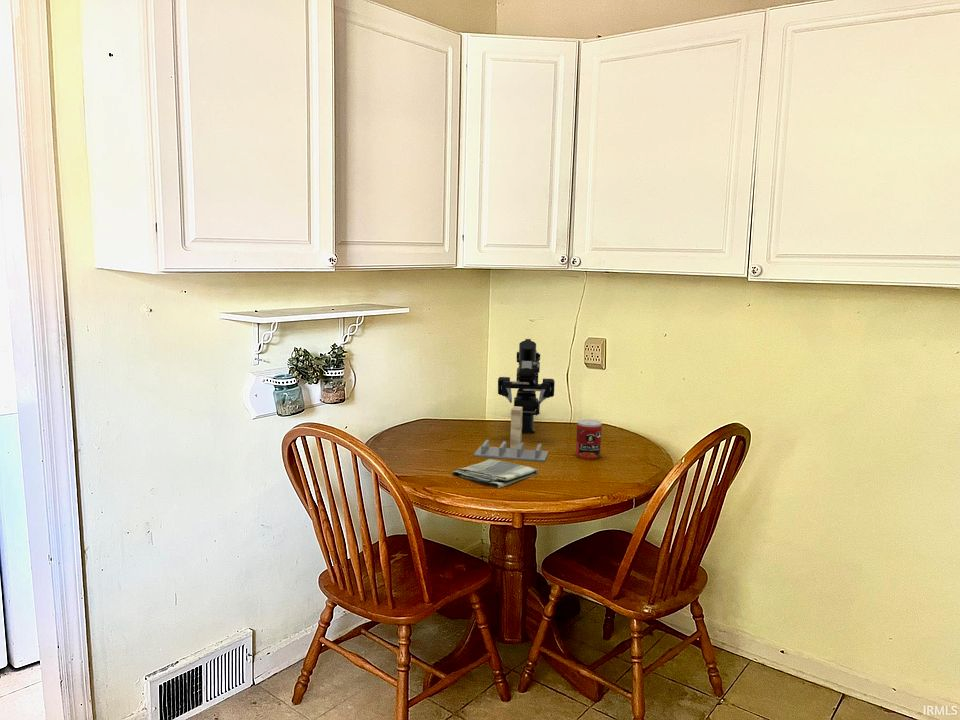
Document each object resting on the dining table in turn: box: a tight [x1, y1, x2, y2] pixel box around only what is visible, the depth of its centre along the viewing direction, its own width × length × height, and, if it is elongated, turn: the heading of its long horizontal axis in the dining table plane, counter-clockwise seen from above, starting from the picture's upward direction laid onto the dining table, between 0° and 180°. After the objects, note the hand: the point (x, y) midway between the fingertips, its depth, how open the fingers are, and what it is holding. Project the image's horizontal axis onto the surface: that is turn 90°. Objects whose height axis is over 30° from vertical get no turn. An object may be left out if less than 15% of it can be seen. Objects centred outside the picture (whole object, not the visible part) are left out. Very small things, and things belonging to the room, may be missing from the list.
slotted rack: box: [473, 439, 549, 463], centre depth 227 cm, size 10×22×3 cm, turn 79°
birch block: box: [509, 405, 523, 449], centre depth 235 cm, size 4×3×13 cm, turn 169°
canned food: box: [575, 418, 603, 460], centre depth 227 cm, size 8×8×11 cm
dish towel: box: [451, 458, 539, 489], centre depth 207 cm, size 19×18×3 cm
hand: (525, 402), depth 234 cm, fingers open, 9 cm apart
